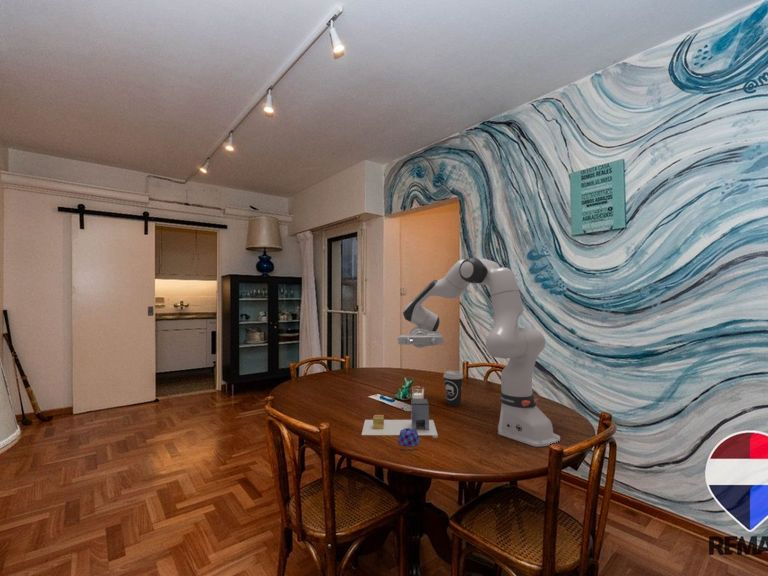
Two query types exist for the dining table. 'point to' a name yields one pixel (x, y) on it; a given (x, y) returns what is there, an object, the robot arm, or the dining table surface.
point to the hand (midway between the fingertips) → (421, 341)
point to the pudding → (408, 438)
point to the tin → (420, 412)
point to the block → (378, 422)
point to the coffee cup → (453, 387)
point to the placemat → (398, 428)
